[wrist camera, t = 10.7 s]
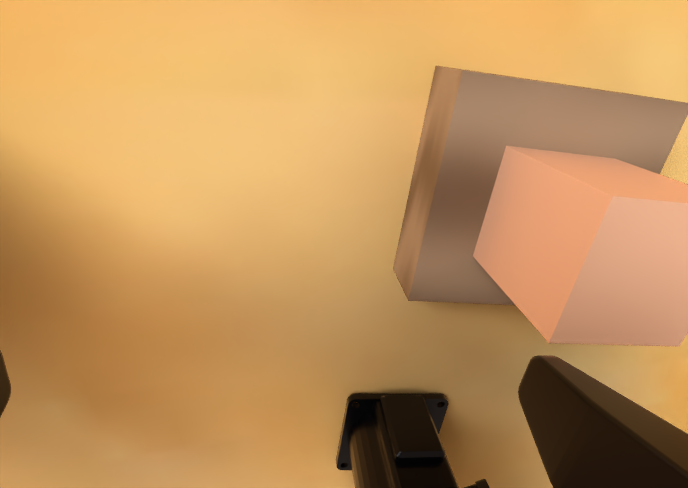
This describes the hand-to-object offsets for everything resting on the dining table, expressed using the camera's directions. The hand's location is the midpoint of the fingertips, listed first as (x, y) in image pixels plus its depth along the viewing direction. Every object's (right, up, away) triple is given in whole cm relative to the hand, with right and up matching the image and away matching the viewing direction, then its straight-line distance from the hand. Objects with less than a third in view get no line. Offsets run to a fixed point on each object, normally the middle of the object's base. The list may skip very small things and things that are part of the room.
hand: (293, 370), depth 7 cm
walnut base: (+9, +5, +13) cm, 17 cm away
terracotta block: (+9, +4, +11) cm, 15 cm away
